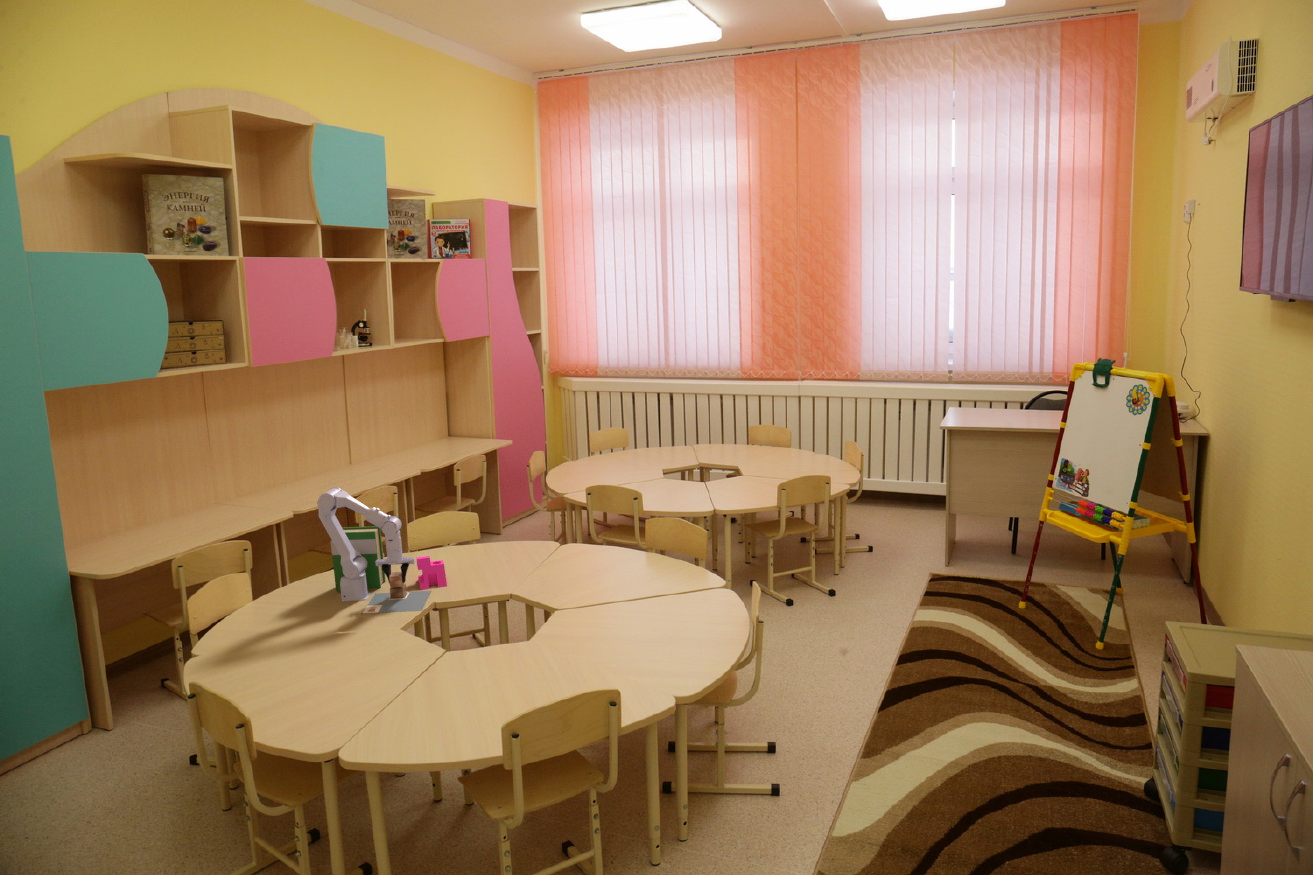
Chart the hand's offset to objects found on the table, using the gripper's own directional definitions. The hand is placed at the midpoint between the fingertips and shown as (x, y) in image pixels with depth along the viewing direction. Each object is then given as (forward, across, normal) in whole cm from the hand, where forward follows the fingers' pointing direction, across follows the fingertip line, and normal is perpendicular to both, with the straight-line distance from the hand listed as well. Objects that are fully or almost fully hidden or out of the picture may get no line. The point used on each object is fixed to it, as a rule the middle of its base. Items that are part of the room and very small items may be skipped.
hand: (397, 582), depth 344 cm
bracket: (+7, +11, +12) cm, 18 cm away
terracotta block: (+1, 0, 0) cm, 1 cm away
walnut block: (+6, 0, 0) cm, 6 cm away
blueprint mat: (+6, +1, -6) cm, 9 cm away
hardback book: (+6, -18, +14) cm, 24 cm away
